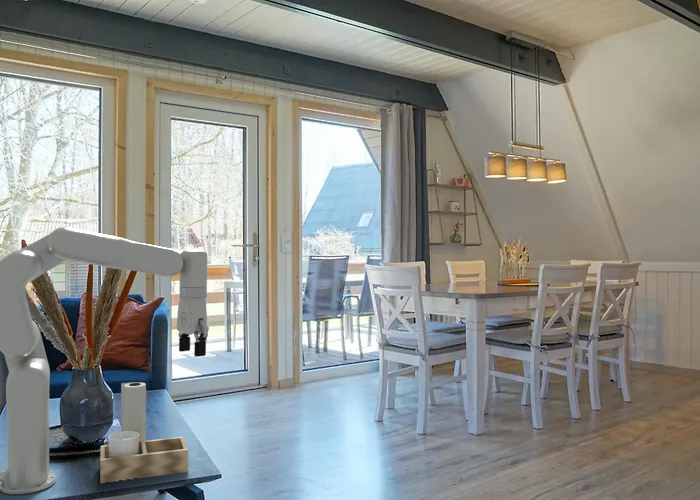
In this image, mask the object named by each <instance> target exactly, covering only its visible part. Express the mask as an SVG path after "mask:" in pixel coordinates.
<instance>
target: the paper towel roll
mask: <svg viewBox="0 0 700 500" xmlns="http://www.w3.org/2000/svg"><path fill="white" fill-rule="evenodd" d="M120 384H121V387H120V390H121V391H120V420H121V421H120V429H121V430H120V432H122V431H134V432H138V433H139V441H147V433H146V432H147V427H146V426H147V398H146V397H147V384H146V382H141V381H140V382H134V381H133V382H121V383H120Z"/></svg>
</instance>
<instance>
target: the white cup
mask: <svg viewBox="0 0 700 500" xmlns="http://www.w3.org/2000/svg"><path fill="white" fill-rule="evenodd" d="M107 441H108V442H107V443H108V446H109V458H113V457H121V456H130V455H138V451H139V433H138V432H134V431H122V432H121V431H118V432H114V433H111V434H109V435H108V437H107Z"/></svg>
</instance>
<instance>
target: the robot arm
mask: <svg viewBox="0 0 700 500" xmlns="http://www.w3.org/2000/svg"><path fill="white" fill-rule="evenodd" d="M66 261H70V262H74V263H81V264H88V265H93V266H97V267H103V268H110V269H115V270H127V271H135V272H140V273H145V274H151V275H157V276H163V277H166V278H167V277H169V278H170V277H174V276H177V275H178V274H179V297H178V298H179V299H178V300H179V301H178V306H177V319H176V330H177V332H178V351H179V352H181V353H182V352H190V350H191V335H193V337H194V339H195V342H194V349H193V350H194V351H193V352H194V356H193V357H205V356H206V354H207V353H206V352H207V340H208V339H207V338H208V335H209V330H210V328H209V325H208V319H207V318H208V313H207V310H208V309H207V301H206V299H207V298H208V296H207V295H208V253H207V252H206V251H205V250H203V249H202V250H201V249H184V250H177V249H173V248H169V247H162V246H158V245H153V244H148V243H147V244H146V243H142V242H137V241H133V240H129V239H127V238H123V237H119V236H115V235H109V234H104V233H99V232H94V231H90V230H89V231H88V230H84V229H79V228H75V227H68V226H61V227H60V226H59V227H57V228H56V229H54V230H52V231H51V232H49V233H48V234H47V235H45V236H43V237H42V238H40V239H38V240H36V241H33V242H32V243H30V244H29V245H27V246H24V247H23V248H21V249H17V250H14V251H12V252H10V253H9V254H7V255H6V256H4V257H3V258H2V259H0V352H1V353H2V354H3V355H4V359H5V363H6V367H7V369H8V374H7V377H6V383H5V397H6V400H5V401H6V436H7V437H6V450H7V451H6V452H7V453H6V459H7V460H6V466H7V467H6V469H2V470H1V471H0V492H2V493H4V494H7V495H25V494H32V493H35V492H41V491H42V490H46V489H48V488H50V487H51V486H53V485H54V484H55V483H56V481H57V476H56V474H55V473H53V472H50V379H51V370H50V364H49V361H48V358H47V354H46V350H45V346H44V342H43V337H42V335H41V334H42V333H41V330H40V328H39V326H38V324H37V323H36V322H35V321H34V320H33V318H32V315H31V314H32V313H31V312H30V311H31V310H30V307H29V302H28V298H27V295H26V288H27V285H28V284H29V283H31V282H33V281H34V280H36V279H37V278H38V277H40V276H41V275H43V274H45V273H48V272H49V271H50V270H53V269H54V268H56V267H58V266H60V265H61V264H63V263H65V262H66Z"/></svg>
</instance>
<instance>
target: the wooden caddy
mask: <svg viewBox="0 0 700 500" xmlns="http://www.w3.org/2000/svg"><path fill="white" fill-rule="evenodd" d="M99 457H100V460H99V461H100V469H99V471H100V474H99V476H100V483H99V484H106V482H108V483H114V481H115V482H120V481H119V480H123V481H127V480H126V479H130V480H135V479H134V478H138V479H143V478H145V479H146V478H152V477H158V476H165V475H166V476H167V475H174V474H175V475H176V474H182V473H188V472H189V448H188V446H187V443H186V440H185V438H184V436H177V437H176V436H175V437H167V438H159V439H149V440H146V441H139V451H138V455H130V456H121V457H113V458H109V446H108V445H106V444H105V445H104V444H103V445H100V456H99Z"/></svg>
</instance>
